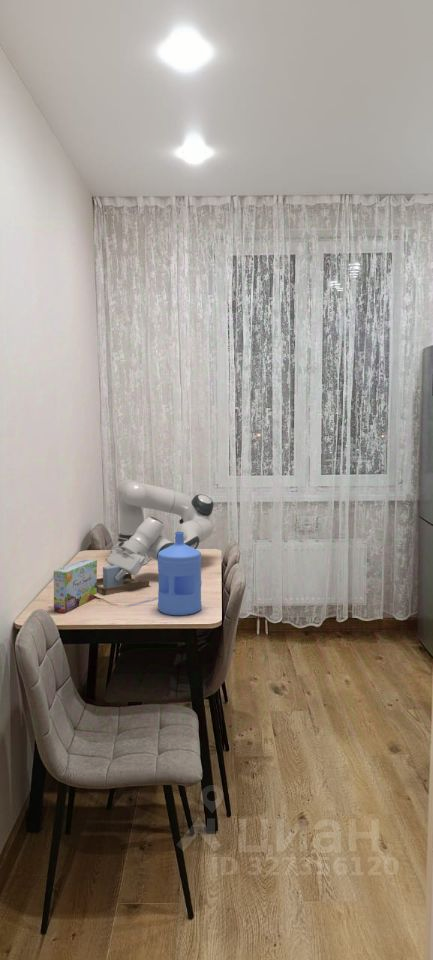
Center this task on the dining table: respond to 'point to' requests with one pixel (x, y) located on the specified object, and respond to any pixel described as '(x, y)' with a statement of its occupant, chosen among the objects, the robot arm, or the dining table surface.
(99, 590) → the frame
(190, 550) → the water jug
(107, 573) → the board
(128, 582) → the offcut upper
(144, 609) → the dining table surface
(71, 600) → the snack box
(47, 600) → the dining table surface
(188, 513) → the robot arm
